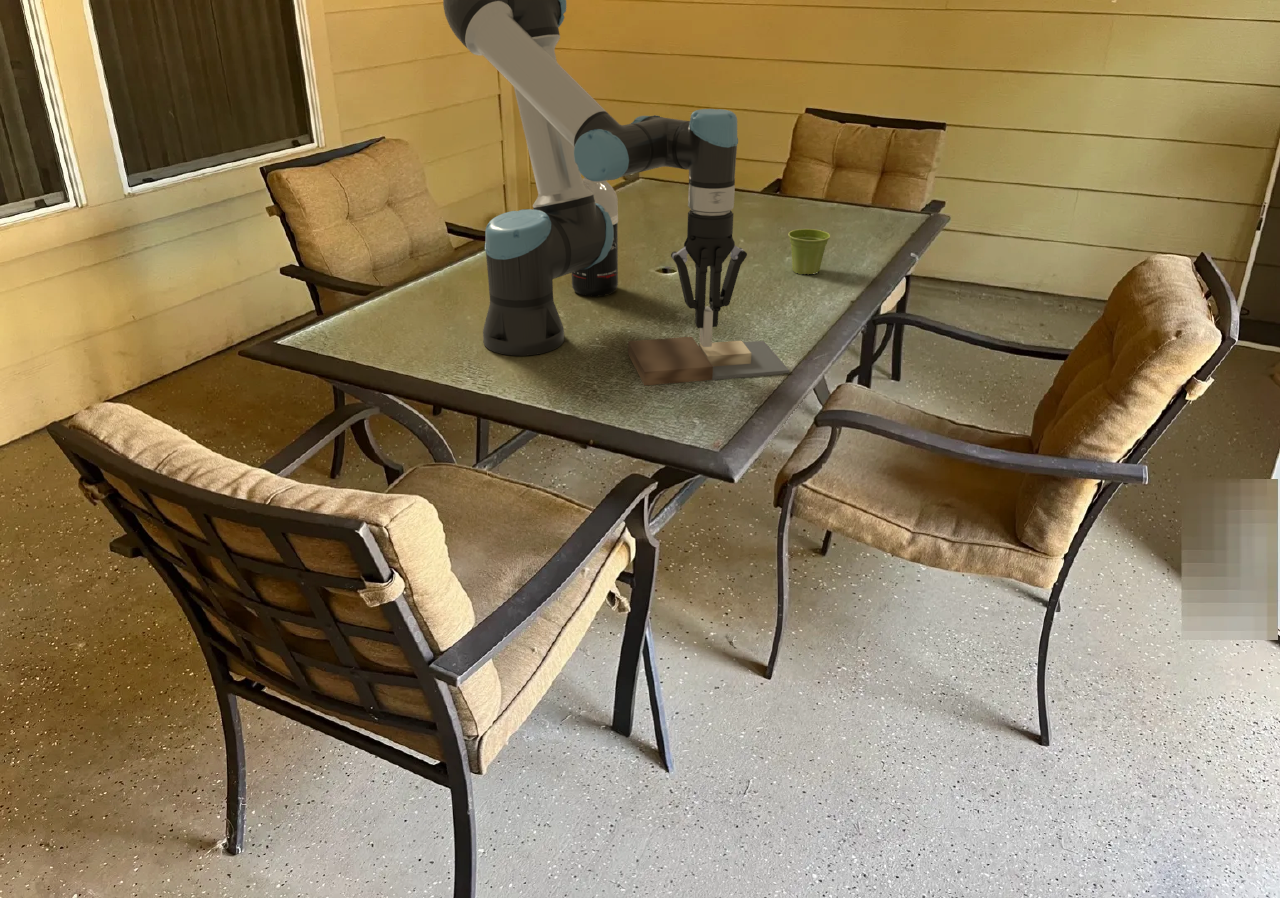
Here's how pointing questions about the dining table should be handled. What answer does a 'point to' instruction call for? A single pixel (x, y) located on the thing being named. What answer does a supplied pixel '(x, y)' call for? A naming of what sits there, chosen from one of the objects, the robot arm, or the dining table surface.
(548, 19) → the robot arm
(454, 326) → the dining table surface
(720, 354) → the birch tile
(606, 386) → the dining table surface
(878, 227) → the dining table surface
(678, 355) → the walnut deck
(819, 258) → the plant pot
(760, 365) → the slate mat
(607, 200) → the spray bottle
